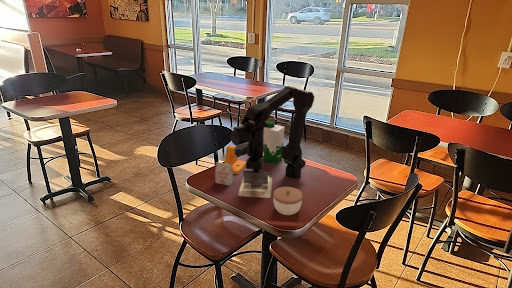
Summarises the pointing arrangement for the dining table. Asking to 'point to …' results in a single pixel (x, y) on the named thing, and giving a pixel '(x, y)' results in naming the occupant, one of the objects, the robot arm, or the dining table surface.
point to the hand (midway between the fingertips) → (255, 174)
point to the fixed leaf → (262, 184)
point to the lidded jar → (287, 200)
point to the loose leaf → (255, 177)
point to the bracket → (234, 160)
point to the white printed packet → (223, 173)
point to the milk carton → (273, 142)
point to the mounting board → (255, 190)
